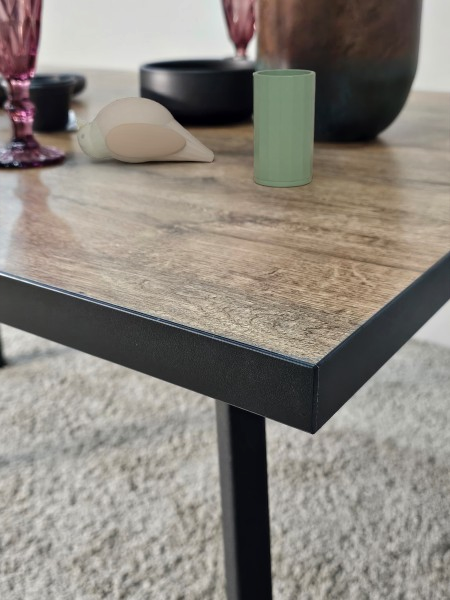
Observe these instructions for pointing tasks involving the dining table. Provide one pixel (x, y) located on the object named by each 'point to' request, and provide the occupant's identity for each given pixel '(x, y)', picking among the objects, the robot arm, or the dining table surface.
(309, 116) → the cup
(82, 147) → the decorative bird
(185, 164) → the dining table surface
